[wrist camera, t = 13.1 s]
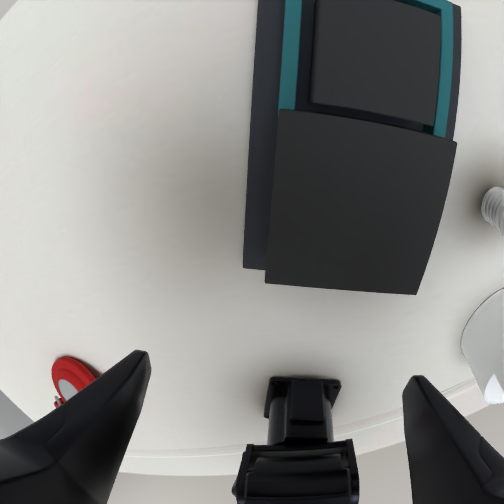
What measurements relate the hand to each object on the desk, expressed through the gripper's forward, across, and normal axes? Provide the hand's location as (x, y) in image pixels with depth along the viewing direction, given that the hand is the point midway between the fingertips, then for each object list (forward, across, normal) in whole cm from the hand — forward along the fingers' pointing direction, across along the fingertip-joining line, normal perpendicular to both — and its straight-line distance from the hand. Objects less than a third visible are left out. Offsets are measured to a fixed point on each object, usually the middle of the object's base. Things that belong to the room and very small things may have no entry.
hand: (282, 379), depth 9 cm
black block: (+11, -3, -11) cm, 16 cm away
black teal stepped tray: (+12, -3, -7) cm, 14 cm away
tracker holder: (+12, +21, +22) cm, 33 cm away
